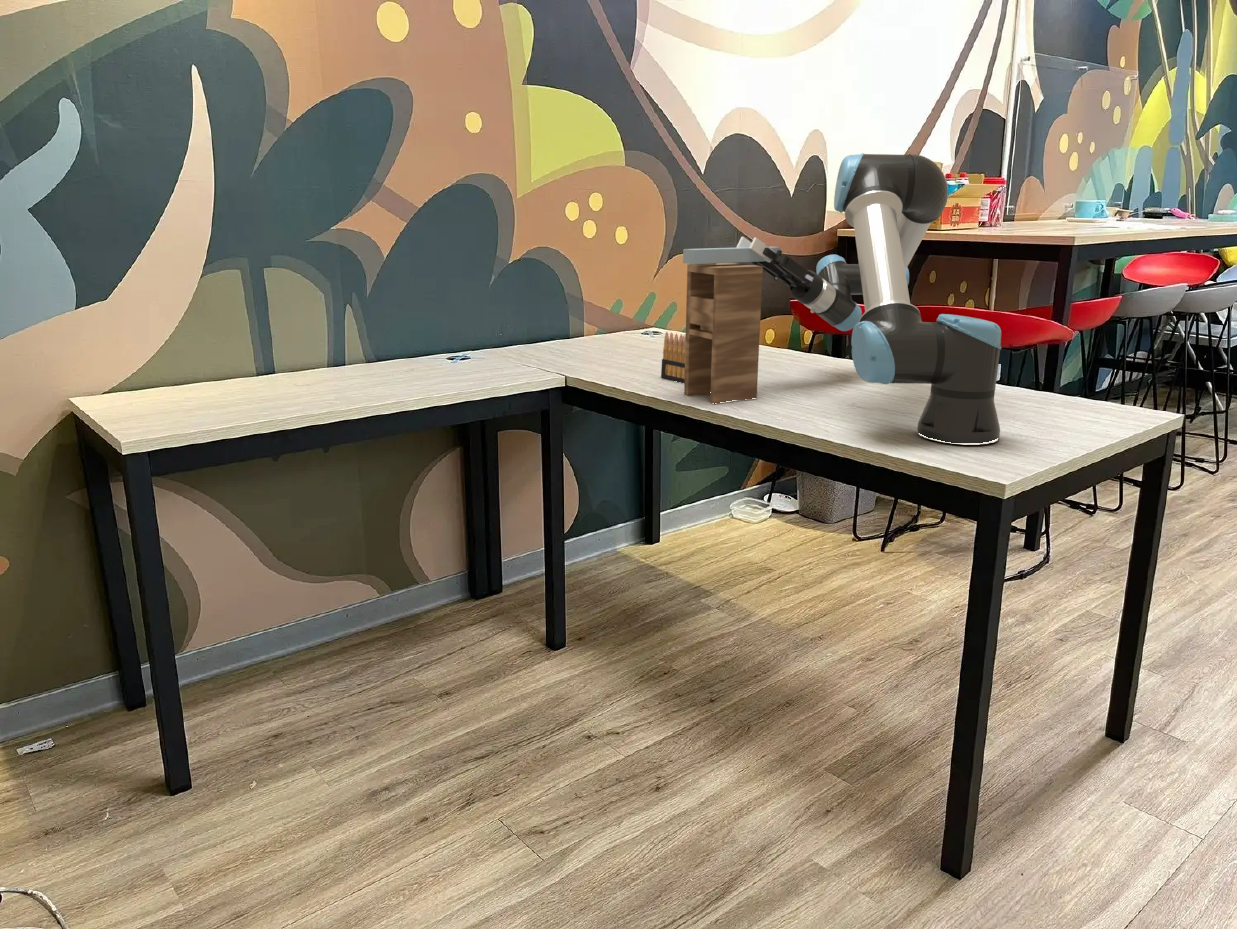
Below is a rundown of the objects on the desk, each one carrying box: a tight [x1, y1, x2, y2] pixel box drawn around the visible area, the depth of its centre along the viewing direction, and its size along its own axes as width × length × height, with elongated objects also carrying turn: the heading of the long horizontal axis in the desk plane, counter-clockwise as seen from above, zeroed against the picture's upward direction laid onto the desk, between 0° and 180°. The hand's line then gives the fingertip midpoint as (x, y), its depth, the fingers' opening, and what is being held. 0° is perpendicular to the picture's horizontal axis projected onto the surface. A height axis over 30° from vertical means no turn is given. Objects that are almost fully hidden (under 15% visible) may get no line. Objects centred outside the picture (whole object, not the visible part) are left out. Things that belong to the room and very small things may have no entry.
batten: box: [682, 246, 782, 265], centre depth 209 cm, size 4×24×3 cm, turn 120°
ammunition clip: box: [660, 331, 686, 384], centre depth 233 cm, size 11×2×12 cm, turn 39°
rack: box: [683, 262, 764, 405], centre depth 212 cm, size 12×12×32 cm
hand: (746, 242), depth 210 cm, fingers closed on batten, 4 cm apart
